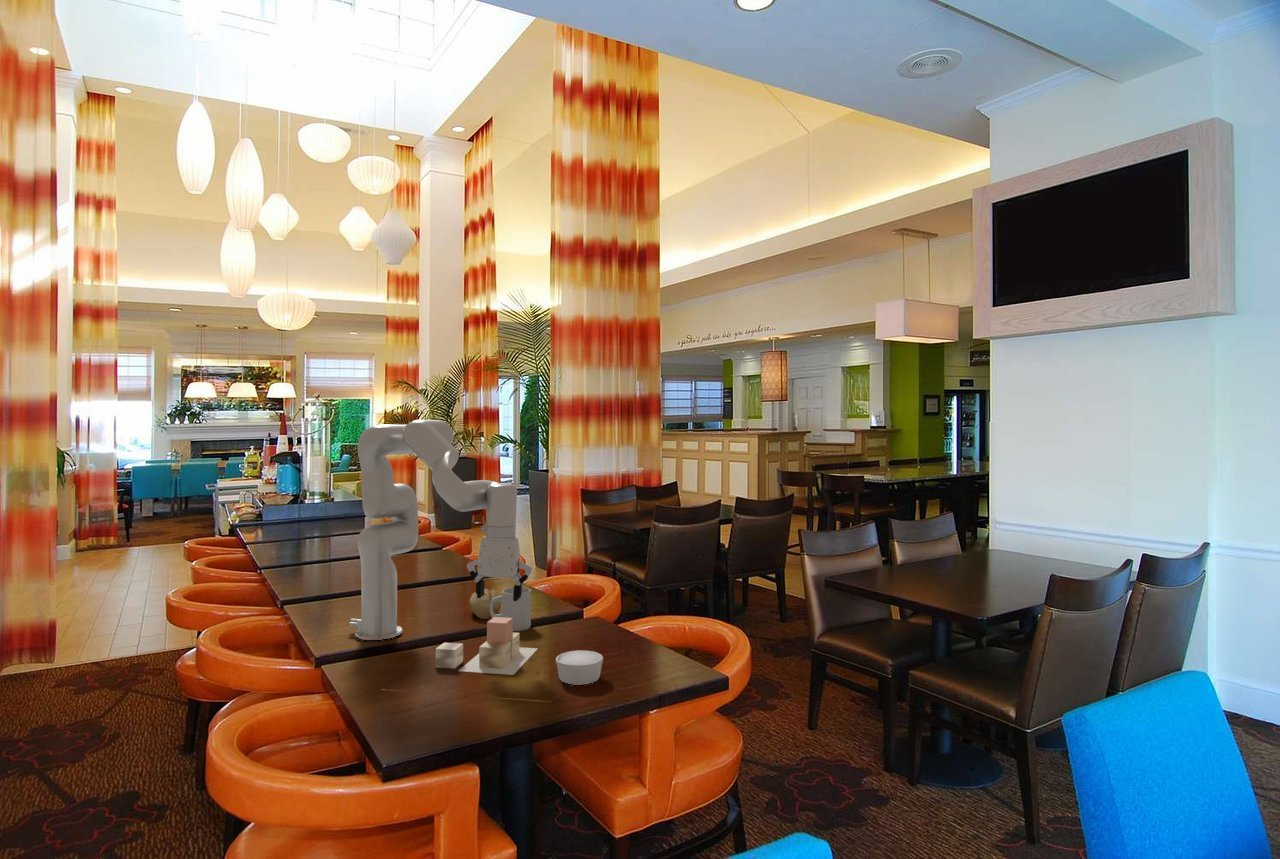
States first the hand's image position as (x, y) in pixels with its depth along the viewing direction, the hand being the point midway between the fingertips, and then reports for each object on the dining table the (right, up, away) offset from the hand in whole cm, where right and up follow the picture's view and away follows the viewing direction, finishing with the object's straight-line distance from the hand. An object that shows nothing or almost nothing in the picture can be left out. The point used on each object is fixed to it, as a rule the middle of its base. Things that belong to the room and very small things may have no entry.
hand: (498, 598), depth 180 cm
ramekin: (+22, -17, -13) cm, 30 cm away
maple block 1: (0, -16, -4) cm, 16 cm away
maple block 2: (+1, -16, +3) cm, 16 cm away
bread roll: (-13, -16, +43) cm, 47 cm away
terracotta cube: (0, -11, 0) cm, 11 cm away
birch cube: (-11, -16, -4) cm, 20 cm away
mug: (-2, -16, +29) cm, 33 cm away
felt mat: (0, -16, 0) cm, 16 cm away
